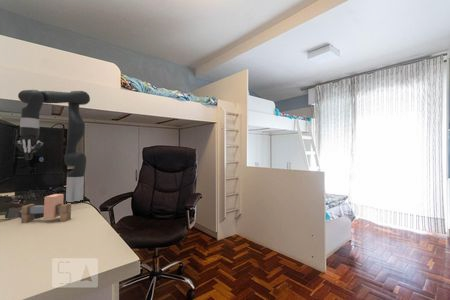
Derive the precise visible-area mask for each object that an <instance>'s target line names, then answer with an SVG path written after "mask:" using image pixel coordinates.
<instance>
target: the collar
mask: <svg viewBox="0 0 450 300" xmlns="http://www.w3.org/2000/svg"><path fill="white" fill-rule="evenodd" d="M64 195H65V194H64V193H54V194H50V195H47V196H44V204H43V205H44V217H43V220H52V219H56V218H58V217H60V213H55V211H56V205H64V198H65V196H64Z"/></svg>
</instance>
